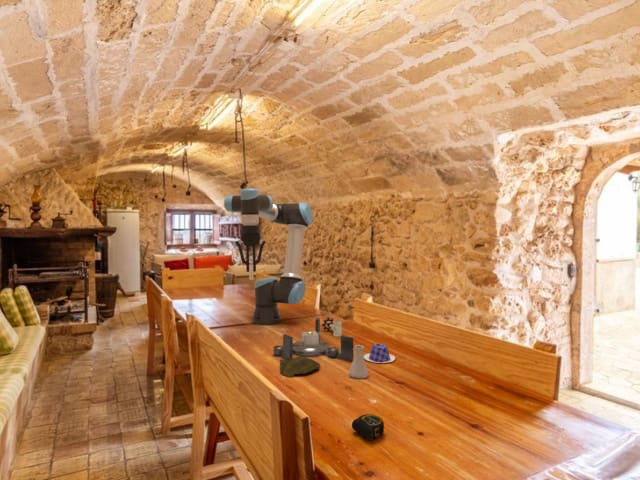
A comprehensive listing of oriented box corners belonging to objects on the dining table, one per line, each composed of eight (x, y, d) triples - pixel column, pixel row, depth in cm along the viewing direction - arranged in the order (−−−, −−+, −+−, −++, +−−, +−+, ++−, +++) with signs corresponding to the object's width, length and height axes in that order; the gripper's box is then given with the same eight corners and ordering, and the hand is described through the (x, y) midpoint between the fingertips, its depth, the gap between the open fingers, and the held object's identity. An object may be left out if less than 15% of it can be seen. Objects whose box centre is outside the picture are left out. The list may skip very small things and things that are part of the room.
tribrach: (279, 338, 183) (279, 318, 182) (333, 335, 187) (332, 316, 187) (288, 366, 147) (288, 341, 146) (353, 361, 151) (353, 337, 151)
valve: (345, 336, 186) (334, 330, 197) (345, 322, 186) (333, 316, 197) (333, 337, 183) (321, 331, 194) (333, 323, 183) (321, 318, 194)
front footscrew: (271, 354, 160) (271, 331, 160) (280, 352, 163) (280, 330, 162) (286, 361, 151) (286, 338, 151) (296, 359, 154) (296, 336, 153)
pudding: (401, 360, 153) (402, 347, 153) (378, 367, 146) (378, 352, 146) (380, 352, 163) (380, 339, 163) (357, 358, 156) (357, 344, 156)
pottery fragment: (323, 376, 138) (323, 364, 138) (281, 379, 135) (281, 366, 135) (316, 362, 151) (316, 351, 151) (278, 365, 149) (278, 353, 149)
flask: (371, 372, 140) (371, 344, 140) (366, 380, 133) (367, 350, 133) (351, 370, 142) (351, 342, 142) (345, 377, 136) (345, 348, 135)
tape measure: (350, 432, 100) (350, 417, 100) (371, 424, 104) (371, 410, 104) (368, 445, 94) (368, 429, 94) (389, 436, 98) (389, 421, 98)
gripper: (234, 225, 168) (235, 281, 169) (266, 224, 170) (267, 280, 172) (234, 224, 175) (236, 278, 177) (265, 224, 178) (266, 277, 179)
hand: (251, 279), depth 174 cm, fingers closed
